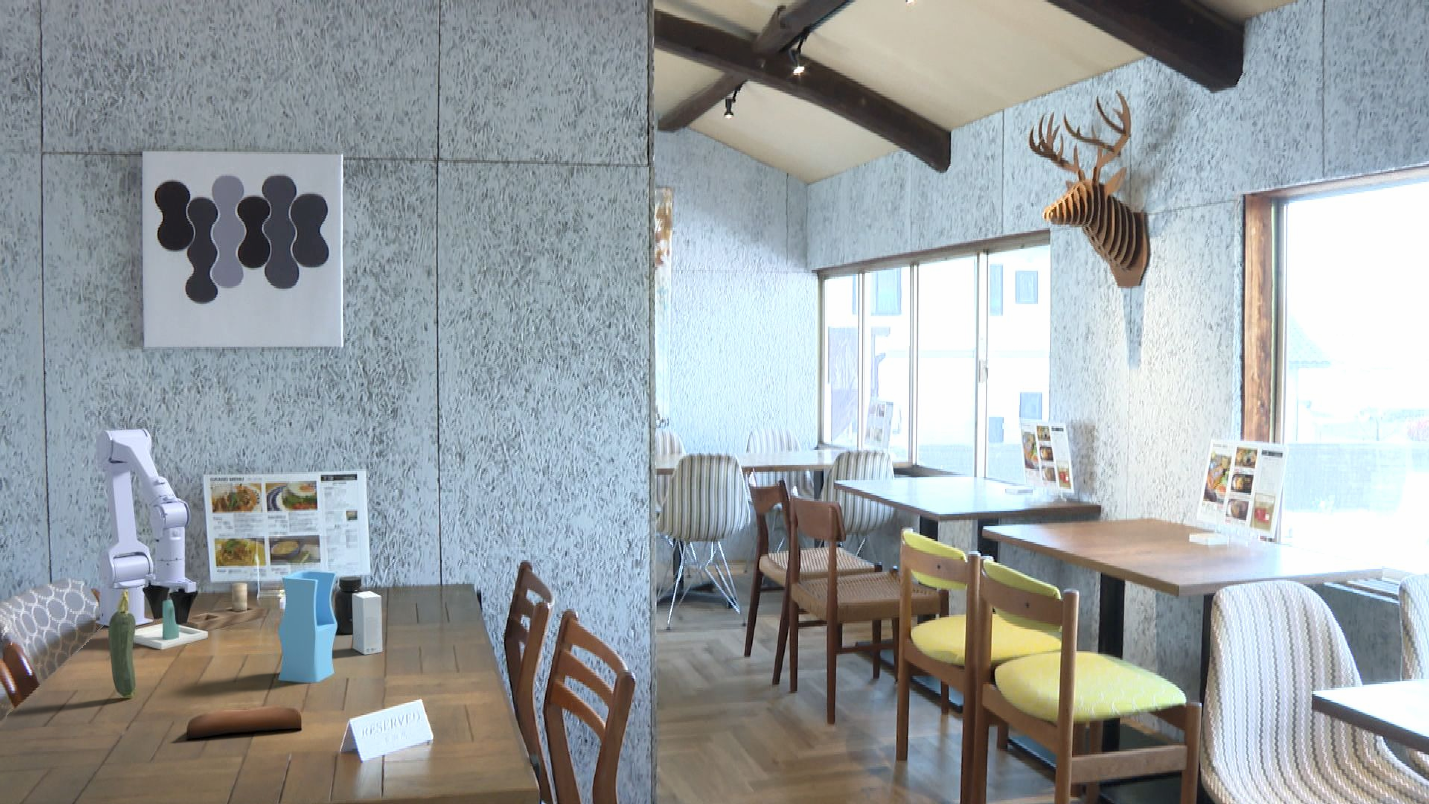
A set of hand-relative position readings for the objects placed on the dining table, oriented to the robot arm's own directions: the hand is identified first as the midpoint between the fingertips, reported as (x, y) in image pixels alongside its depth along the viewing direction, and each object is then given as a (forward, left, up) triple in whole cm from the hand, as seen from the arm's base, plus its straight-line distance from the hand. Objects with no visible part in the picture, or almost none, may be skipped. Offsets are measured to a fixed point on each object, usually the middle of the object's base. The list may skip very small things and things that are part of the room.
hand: (170, 620), depth 245 cm
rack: (-4, +16, -4) cm, 17 cm away
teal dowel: (0, 0, -4) cm, 4 cm away
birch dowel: (-4, +20, -4) cm, 21 cm away
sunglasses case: (+59, -27, -5) cm, 65 cm away
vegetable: (+28, -29, -4) cm, 41 cm away
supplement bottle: (+25, +27, -4) cm, 37 cm away
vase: (+44, -1, -4) cm, 44 cm away
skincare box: (+40, +18, -4) cm, 44 cm away
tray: (-2, 0, -4) cm, 5 cm away
